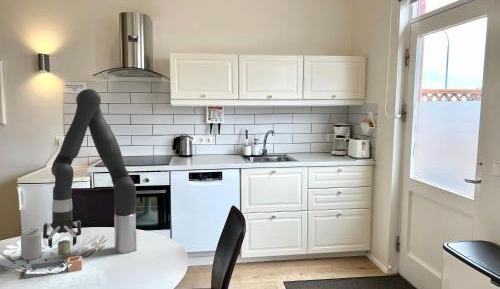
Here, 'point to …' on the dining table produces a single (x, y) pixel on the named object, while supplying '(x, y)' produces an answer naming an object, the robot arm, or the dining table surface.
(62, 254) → the cell
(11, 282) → the dining table surface
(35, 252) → the can
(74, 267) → the cup
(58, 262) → the trough
